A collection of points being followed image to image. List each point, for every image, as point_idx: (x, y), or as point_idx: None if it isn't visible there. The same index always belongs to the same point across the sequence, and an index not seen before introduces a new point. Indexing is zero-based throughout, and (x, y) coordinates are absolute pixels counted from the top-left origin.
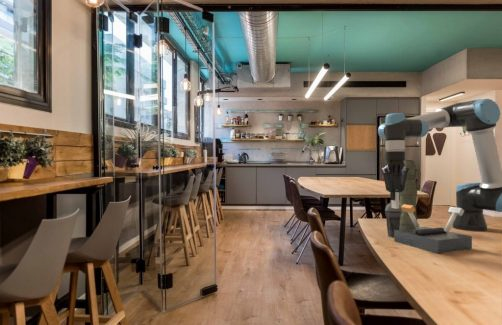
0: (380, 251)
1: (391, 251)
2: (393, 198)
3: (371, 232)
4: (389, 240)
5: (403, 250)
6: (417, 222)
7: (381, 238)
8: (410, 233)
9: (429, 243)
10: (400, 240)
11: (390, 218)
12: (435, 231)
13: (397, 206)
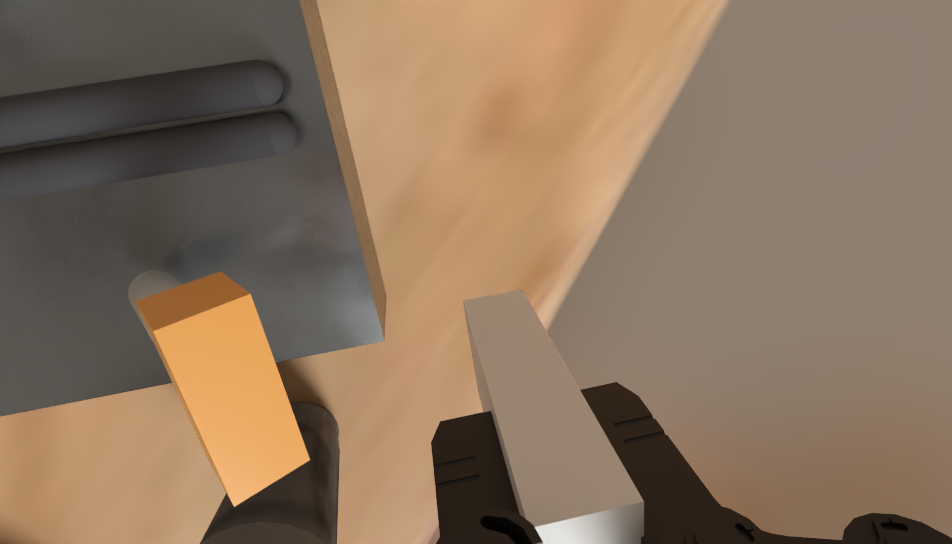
0: (679, 39)
1: (605, 15)
2: (627, 409)
3: (389, 539)
4: (404, 326)
5: (496, 17)
6: (148, 290)
7: (425, 386)
8: (332, 163)
9: None
10: (371, 245)
11: (321, 524)
12: (33, 92)
13: (503, 310)
